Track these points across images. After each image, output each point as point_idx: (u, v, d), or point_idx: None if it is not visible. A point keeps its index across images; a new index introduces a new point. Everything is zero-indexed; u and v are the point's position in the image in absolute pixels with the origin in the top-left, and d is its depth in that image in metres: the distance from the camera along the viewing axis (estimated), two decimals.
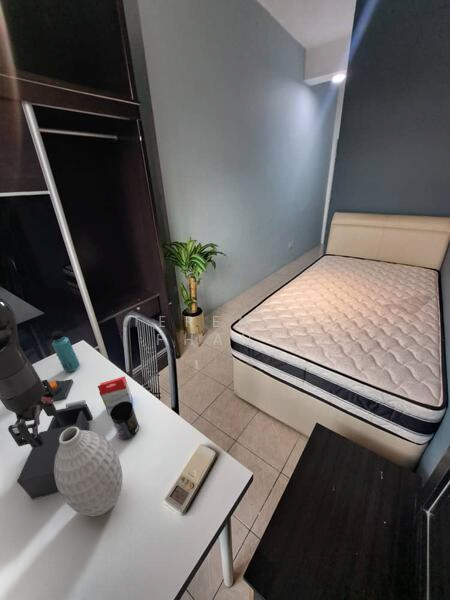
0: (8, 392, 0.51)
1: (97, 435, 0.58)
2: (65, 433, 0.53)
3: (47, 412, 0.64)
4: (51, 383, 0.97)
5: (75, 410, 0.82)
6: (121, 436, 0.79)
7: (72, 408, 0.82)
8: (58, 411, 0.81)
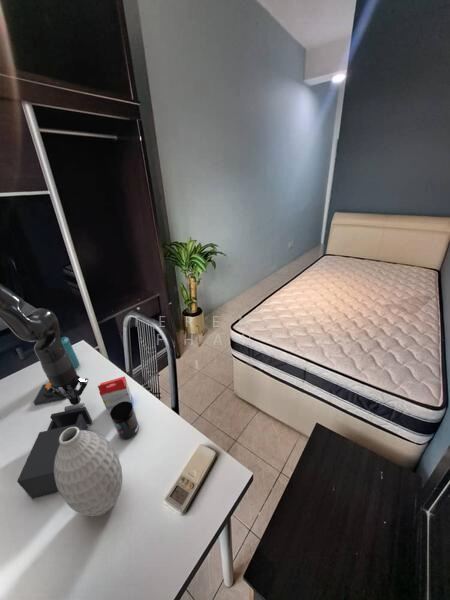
0: None
1: (97, 435, 0.57)
2: (65, 433, 0.53)
3: None
4: None
5: (74, 413, 0.81)
6: (121, 436, 0.79)
7: (71, 411, 0.81)
8: (57, 414, 0.80)
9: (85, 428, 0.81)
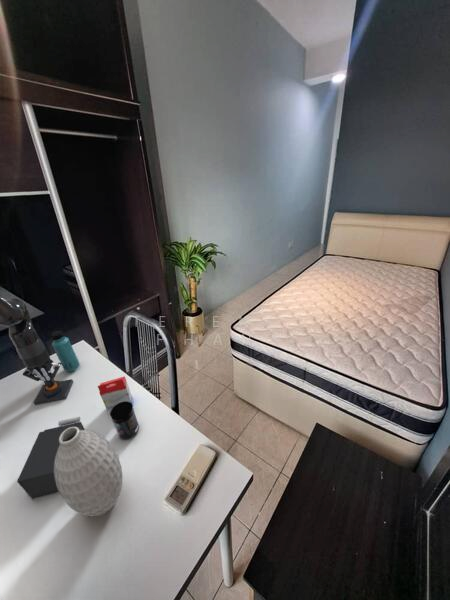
0: None
1: (97, 435, 0.57)
2: (65, 433, 0.53)
3: None
4: None
5: None
6: (121, 436, 0.79)
7: None
8: None
9: None
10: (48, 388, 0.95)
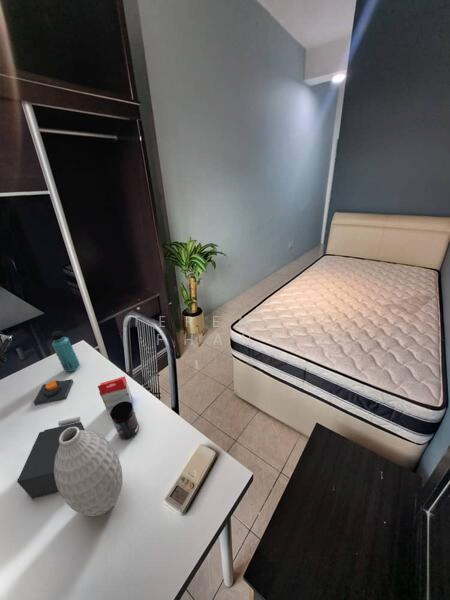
0: None
1: (97, 435, 0.57)
2: (65, 433, 0.53)
3: None
4: (51, 383, 0.97)
5: None
6: (121, 436, 0.79)
7: None
8: None
9: None
10: (47, 387, 0.95)
